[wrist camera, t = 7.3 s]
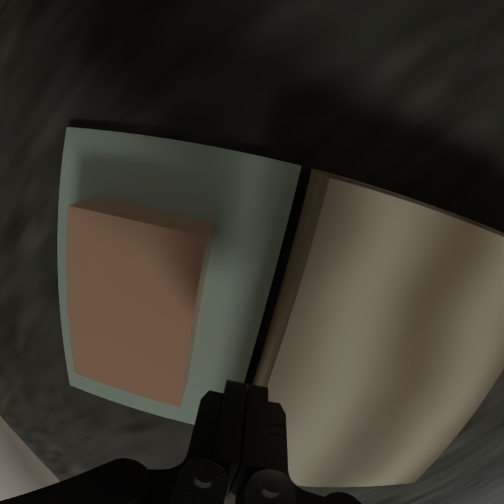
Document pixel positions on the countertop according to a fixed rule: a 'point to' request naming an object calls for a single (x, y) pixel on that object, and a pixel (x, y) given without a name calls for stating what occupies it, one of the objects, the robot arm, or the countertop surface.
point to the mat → (222, 251)
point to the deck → (381, 333)
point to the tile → (135, 295)
